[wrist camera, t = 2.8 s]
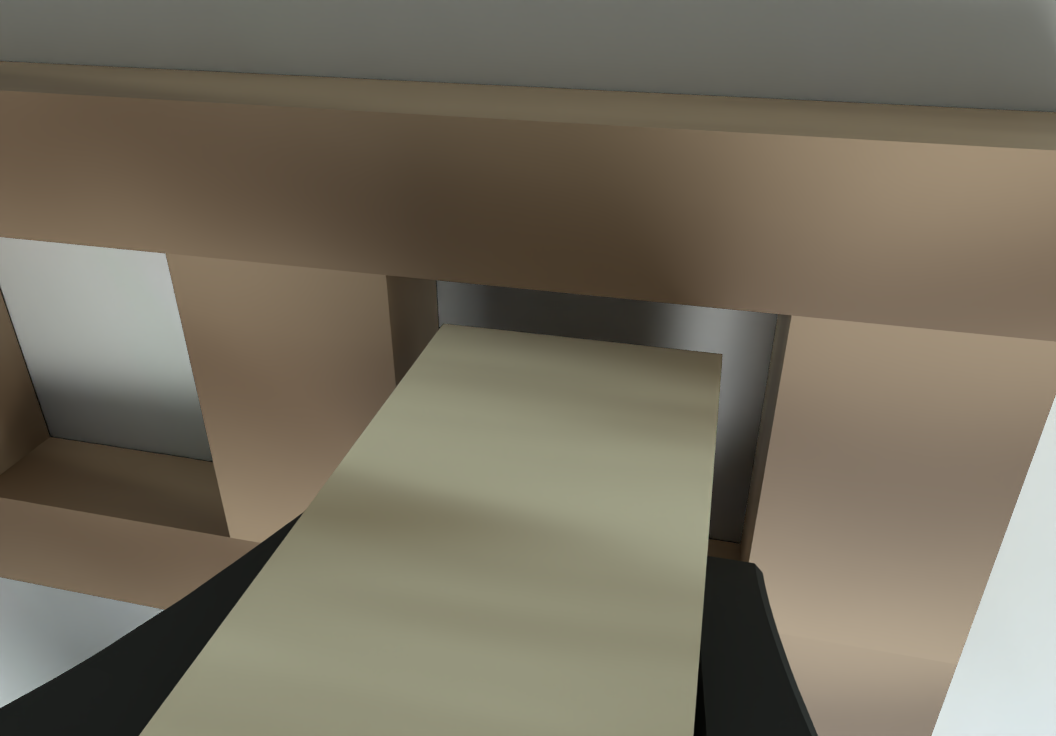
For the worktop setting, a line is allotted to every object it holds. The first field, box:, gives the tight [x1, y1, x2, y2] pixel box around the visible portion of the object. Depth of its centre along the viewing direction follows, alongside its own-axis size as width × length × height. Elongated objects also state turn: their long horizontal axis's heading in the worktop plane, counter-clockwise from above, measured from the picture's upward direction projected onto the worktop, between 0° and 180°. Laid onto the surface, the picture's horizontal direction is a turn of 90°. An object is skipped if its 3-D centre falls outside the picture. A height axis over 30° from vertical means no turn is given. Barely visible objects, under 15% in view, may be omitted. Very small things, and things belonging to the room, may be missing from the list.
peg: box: [139, 324, 723, 736], centre depth 9 cm, size 4×4×8 cm
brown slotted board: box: [0, 61, 1056, 736], centre depth 15 cm, size 10×30×2 cm, turn 90°
